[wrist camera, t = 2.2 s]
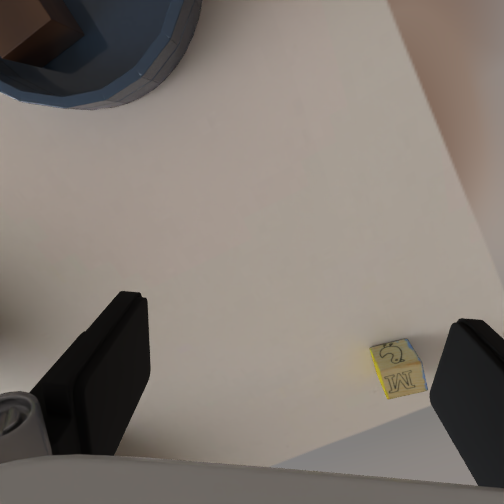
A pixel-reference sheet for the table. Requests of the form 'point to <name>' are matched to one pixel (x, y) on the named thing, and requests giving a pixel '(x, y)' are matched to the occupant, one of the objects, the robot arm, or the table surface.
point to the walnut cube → (36, 30)
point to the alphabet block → (399, 369)
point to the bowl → (108, 55)
